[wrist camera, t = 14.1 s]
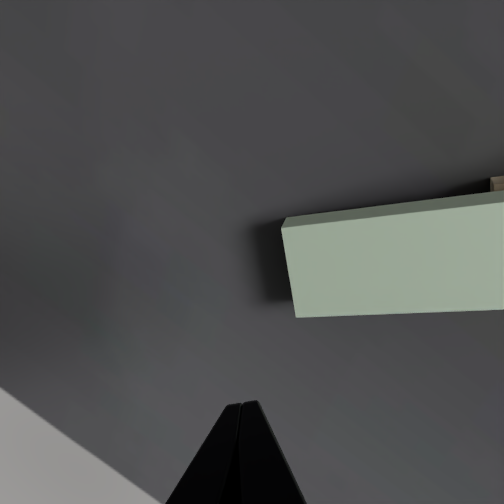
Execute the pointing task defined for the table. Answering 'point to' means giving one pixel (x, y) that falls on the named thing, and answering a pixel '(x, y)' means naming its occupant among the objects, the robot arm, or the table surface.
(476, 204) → the head tile
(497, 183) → the tile
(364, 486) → the table surface
